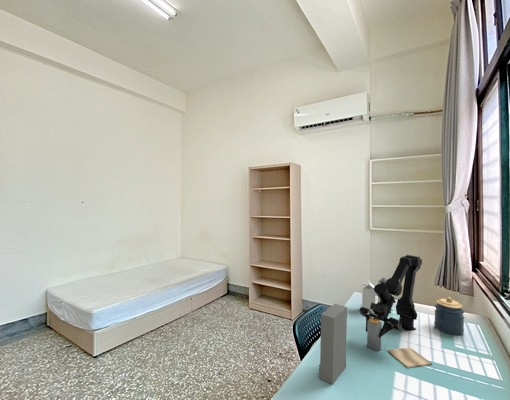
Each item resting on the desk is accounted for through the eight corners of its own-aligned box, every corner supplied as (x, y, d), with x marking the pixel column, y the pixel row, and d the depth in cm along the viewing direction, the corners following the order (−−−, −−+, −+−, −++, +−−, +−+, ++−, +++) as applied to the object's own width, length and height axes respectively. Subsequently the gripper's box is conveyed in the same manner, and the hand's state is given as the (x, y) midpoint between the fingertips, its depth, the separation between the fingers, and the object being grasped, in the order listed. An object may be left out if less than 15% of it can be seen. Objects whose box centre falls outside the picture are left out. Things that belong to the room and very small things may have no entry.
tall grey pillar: (332, 361, 113) (333, 303, 113) (346, 367, 109) (347, 306, 109) (317, 377, 102) (318, 313, 102) (332, 385, 99) (334, 318, 98)
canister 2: (468, 338, 134) (469, 303, 134) (438, 333, 138) (439, 299, 138) (458, 326, 146) (458, 294, 146) (430, 322, 150) (431, 291, 150)
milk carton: (374, 310, 166) (374, 280, 166) (375, 314, 159) (375, 283, 159) (361, 308, 168) (362, 278, 168) (362, 312, 162) (363, 282, 161)
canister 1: (375, 343, 128) (376, 316, 127) (383, 350, 122) (384, 322, 122) (364, 344, 126) (364, 317, 126) (372, 351, 121) (372, 323, 120)
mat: (409, 348, 123) (410, 347, 123) (431, 364, 112) (432, 363, 112) (387, 351, 121) (387, 350, 121) (407, 367, 109) (407, 366, 109)
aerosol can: (377, 308, 168) (377, 277, 168) (378, 305, 174) (378, 274, 174) (389, 311, 165) (389, 279, 164) (389, 307, 171) (390, 276, 170)
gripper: (361, 290, 134) (348, 317, 127) (399, 302, 119) (386, 334, 112) (369, 302, 138) (357, 329, 132) (407, 315, 123) (395, 346, 117)
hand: (372, 334), depth 123 cm, fingers closed on canister 1, 6 cm apart
